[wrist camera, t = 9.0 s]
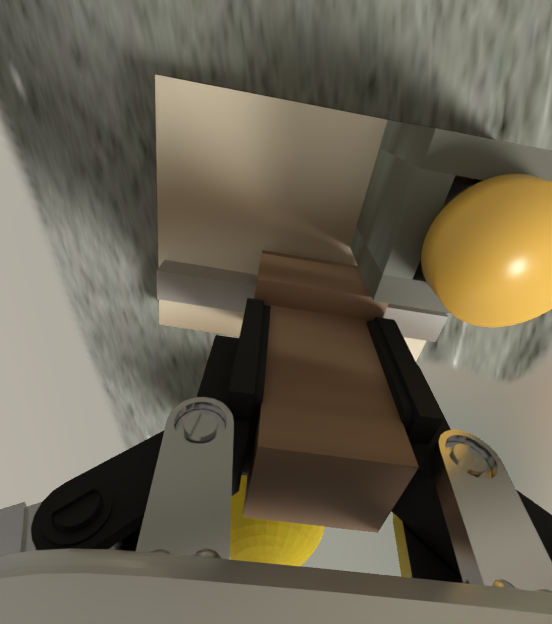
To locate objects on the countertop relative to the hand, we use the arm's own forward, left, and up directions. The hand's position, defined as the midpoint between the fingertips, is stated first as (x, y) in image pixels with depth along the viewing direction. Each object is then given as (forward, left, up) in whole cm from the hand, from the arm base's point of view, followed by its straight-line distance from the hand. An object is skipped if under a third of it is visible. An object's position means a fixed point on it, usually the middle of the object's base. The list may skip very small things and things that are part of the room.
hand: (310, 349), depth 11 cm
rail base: (+2, 0, -5) cm, 5 cm away
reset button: (+4, -3, -3) cm, 6 cm away
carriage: (0, 0, -3) cm, 3 cm away
